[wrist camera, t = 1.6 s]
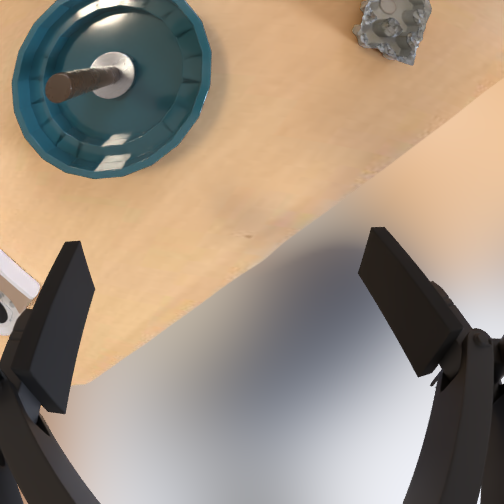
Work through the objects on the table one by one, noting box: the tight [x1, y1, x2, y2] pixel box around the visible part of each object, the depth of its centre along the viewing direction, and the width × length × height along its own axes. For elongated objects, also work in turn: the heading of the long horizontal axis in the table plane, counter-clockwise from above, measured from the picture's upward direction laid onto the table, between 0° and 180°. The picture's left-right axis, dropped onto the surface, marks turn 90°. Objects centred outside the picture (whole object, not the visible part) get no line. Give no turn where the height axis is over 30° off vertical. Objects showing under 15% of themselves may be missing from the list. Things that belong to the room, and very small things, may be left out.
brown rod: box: [45, 51, 138, 103], centre depth 20 cm, size 5×5×14 cm
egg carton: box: [352, 0, 432, 66], centre depth 24 cm, size 11×8×4 cm
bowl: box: [12, 0, 212, 179], centre depth 24 cm, size 20×20×6 cm
